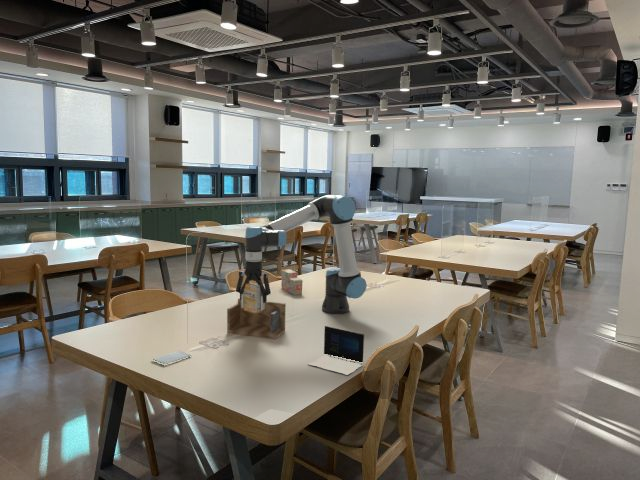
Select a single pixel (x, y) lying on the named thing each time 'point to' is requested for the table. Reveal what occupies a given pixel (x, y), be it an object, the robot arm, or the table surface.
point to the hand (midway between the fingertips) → (253, 308)
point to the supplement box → (252, 298)
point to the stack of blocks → (291, 282)
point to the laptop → (343, 343)
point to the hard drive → (172, 357)
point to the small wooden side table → (257, 320)
